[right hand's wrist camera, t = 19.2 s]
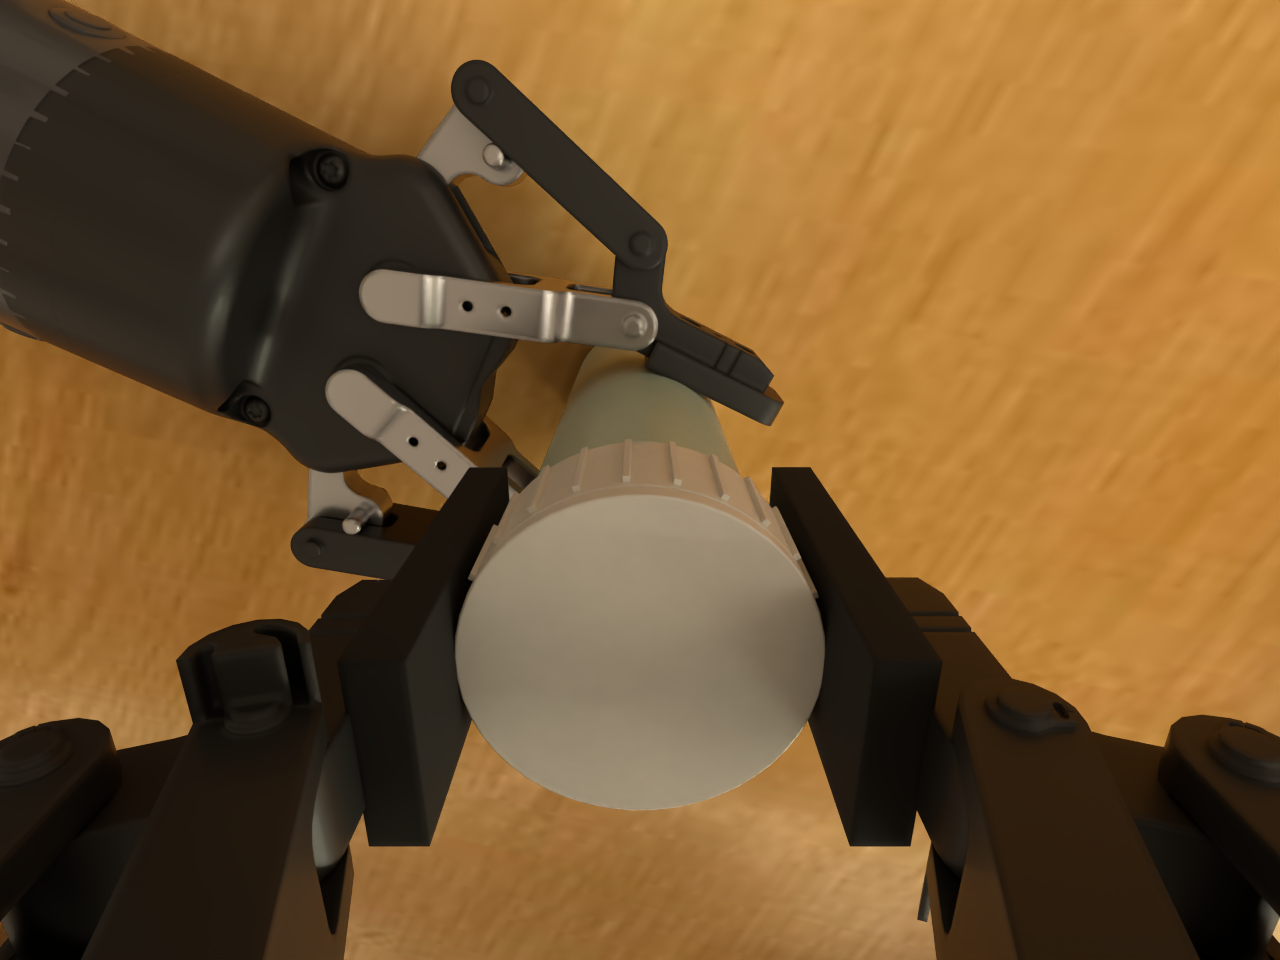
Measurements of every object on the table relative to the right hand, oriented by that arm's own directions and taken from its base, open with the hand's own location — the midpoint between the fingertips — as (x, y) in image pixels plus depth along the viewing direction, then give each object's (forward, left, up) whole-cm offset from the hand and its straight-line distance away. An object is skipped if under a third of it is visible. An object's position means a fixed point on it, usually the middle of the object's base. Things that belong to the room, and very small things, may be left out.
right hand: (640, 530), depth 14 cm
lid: (0, 0, +4) cm, 4 cm away
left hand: (0, -3, -5) cm, 6 cm away
